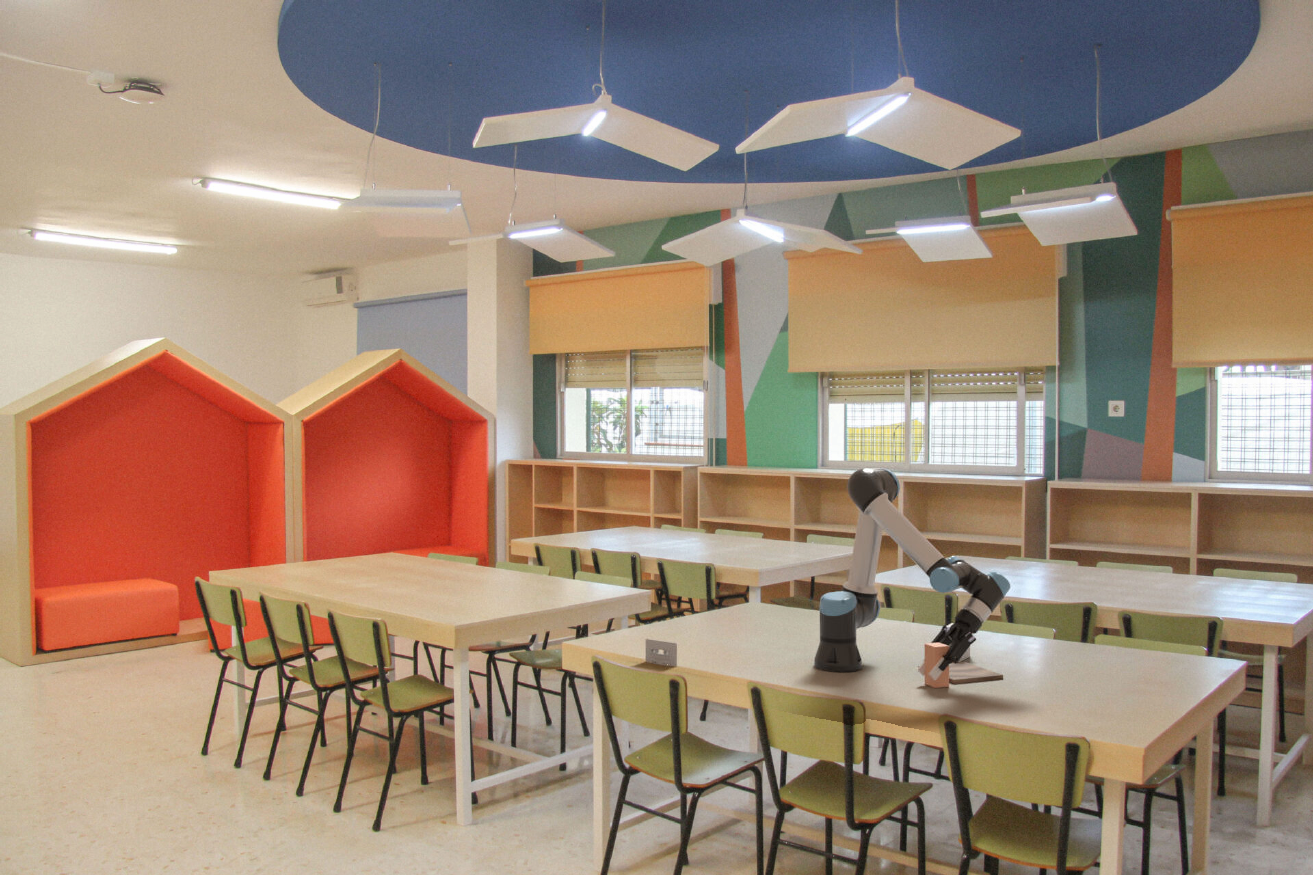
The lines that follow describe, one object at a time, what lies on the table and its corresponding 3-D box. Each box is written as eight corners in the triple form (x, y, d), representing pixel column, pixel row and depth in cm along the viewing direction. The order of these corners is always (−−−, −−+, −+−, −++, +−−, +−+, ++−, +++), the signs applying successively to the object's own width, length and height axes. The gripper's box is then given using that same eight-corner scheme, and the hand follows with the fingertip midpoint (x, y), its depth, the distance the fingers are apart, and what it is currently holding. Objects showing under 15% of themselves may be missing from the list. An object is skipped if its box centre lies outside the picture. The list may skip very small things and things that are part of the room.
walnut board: (918, 669, 291) (918, 666, 291) (965, 665, 297) (965, 661, 297) (953, 683, 274) (953, 679, 274) (1003, 678, 280) (1003, 674, 280)
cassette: (644, 662, 302) (644, 639, 302) (647, 661, 303) (647, 638, 303) (674, 667, 295) (674, 643, 295) (677, 666, 296) (677, 642, 296)
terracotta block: (924, 683, 274) (924, 643, 274) (938, 682, 275) (938, 642, 275) (934, 687, 269) (934, 647, 269) (949, 686, 271) (949, 645, 271)
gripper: (999, 630, 269) (952, 690, 263) (960, 619, 286) (915, 675, 280) (984, 613, 267) (937, 673, 262) (946, 603, 284) (900, 659, 279)
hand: (926, 674), depth 271 cm, fingers closed on terracotta block, 5 cm apart
